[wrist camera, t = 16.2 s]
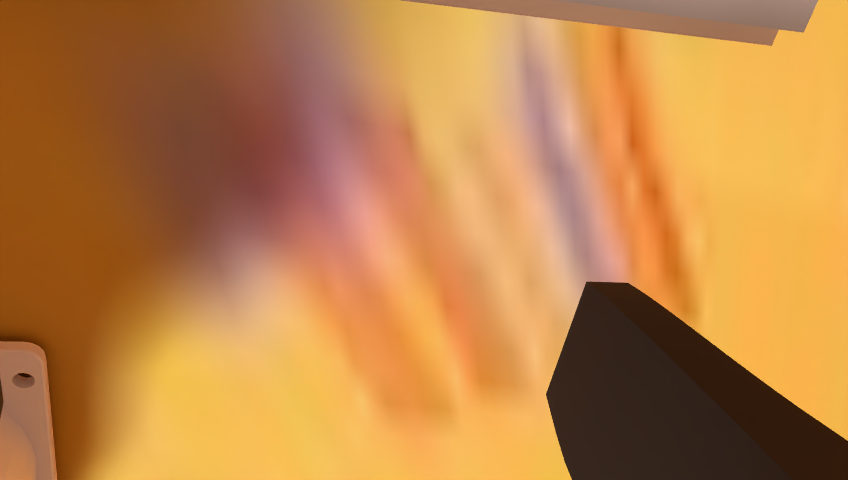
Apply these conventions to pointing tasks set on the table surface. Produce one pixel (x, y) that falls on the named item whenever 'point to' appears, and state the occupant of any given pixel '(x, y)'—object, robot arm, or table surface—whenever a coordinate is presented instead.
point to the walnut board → (665, 15)
